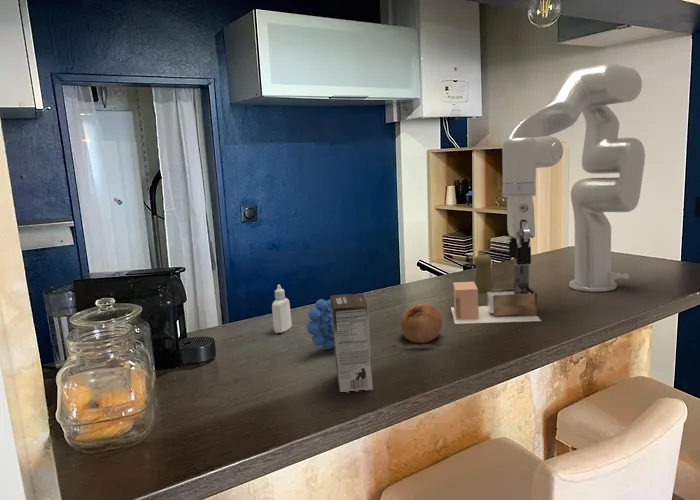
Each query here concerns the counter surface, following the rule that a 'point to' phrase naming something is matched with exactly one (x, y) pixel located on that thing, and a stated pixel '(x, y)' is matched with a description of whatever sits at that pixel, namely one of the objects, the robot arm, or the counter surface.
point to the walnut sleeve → (515, 304)
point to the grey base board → (493, 317)
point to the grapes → (321, 324)
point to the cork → (483, 274)
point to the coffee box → (352, 342)
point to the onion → (421, 323)
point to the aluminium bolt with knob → (519, 285)
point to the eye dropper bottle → (281, 311)
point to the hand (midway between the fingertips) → (519, 260)
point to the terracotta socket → (465, 300)
